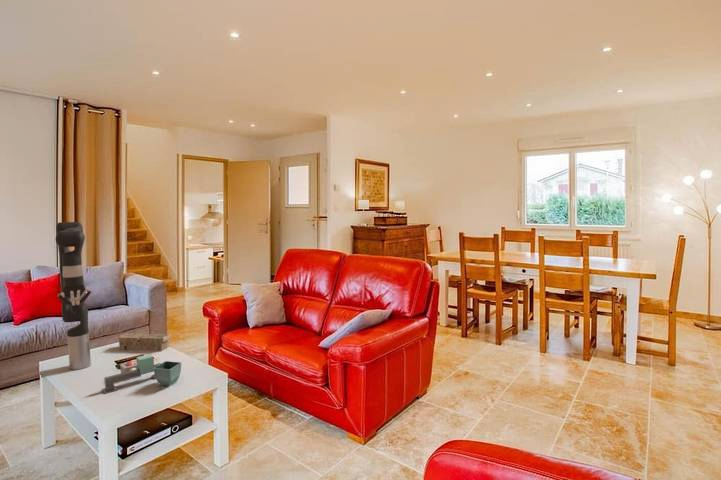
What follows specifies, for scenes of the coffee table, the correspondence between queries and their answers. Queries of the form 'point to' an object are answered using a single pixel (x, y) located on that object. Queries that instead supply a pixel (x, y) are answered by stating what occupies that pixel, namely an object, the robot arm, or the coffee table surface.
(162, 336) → the block tower
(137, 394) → the coffee table surface
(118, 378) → the handrail
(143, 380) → the coffee table surface
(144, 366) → the carriage
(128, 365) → the button
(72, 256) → the robot arm
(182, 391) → the coffee table surface
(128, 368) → the cabinet
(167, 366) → the flower pot
